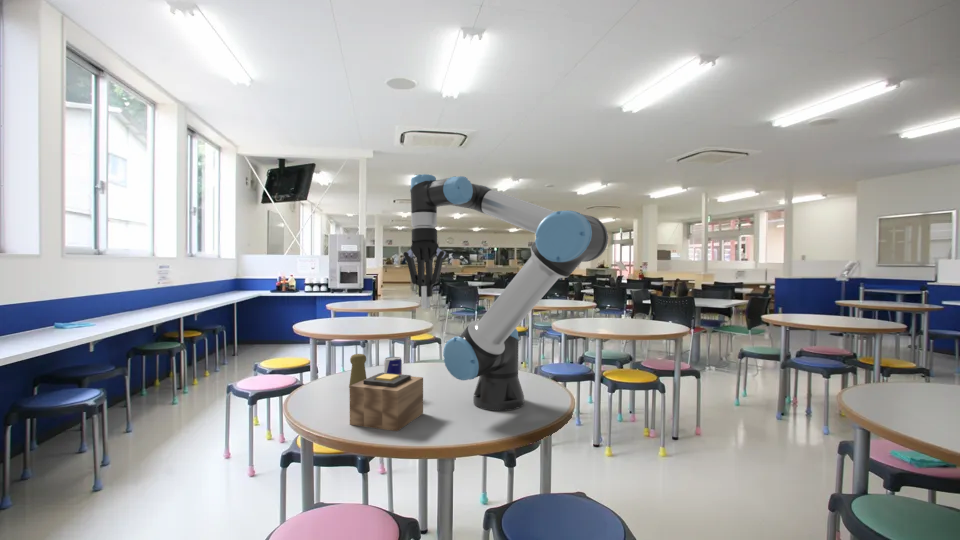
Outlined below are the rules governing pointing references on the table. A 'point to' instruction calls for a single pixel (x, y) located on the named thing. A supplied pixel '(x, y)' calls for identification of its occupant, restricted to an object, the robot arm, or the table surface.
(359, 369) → the cork
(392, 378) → the peg
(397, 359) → the energy drink
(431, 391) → the table surface
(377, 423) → the socket block
